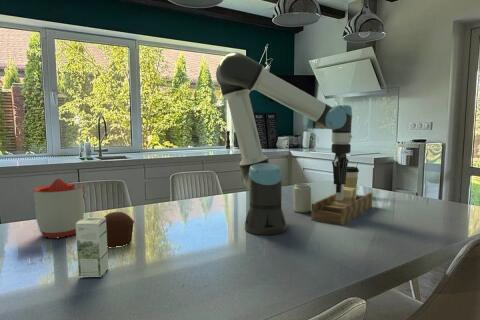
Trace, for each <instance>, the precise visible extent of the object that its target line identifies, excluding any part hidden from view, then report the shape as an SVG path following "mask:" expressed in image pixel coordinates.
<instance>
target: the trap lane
mask: <svg viewBox="0 0 480 320" xmlns="http://www.w3.org/2000/svg"><path fill="white" fill-rule="evenodd" d="M335 199H336V193H333V194H331V195H329V196H327V197H323V198H322V199H320V200H317V201H315V202H312V203H311V221H317V222H322V223H326V224H333V225H338V226H345V225H346V224H348V223H349V222H351V221H352V220H354V219H355V218H357V217H359V216H360V215H362V214H363V213H364V212H366V211H368V210H369V209H371V208H372V207H373V192H371V191H370V192H369V193H366V194H365V195H363V196H359V195H356V200H355V201H353V202H352V203H350V204H343V203H337V200H335Z"/></svg>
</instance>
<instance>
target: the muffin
mask: <svg viewBox="0 0 480 320" xmlns="http://www.w3.org/2000/svg"><path fill="white" fill-rule="evenodd" d="M103 217H105V218H106V230H107V246H108V247H116V246H123V245H126V244H128V245H129V243H130V242H131V243H132V239H133V231H134V224H135V221H134V220H133V218H132V217H131V216H130V215H128V214H127V213H125V212H122V211H114V212H110V213H107V214H105V216H103ZM131 243H130V244H131ZM123 247H124V246H123Z"/></svg>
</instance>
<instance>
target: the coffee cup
mask: <svg viewBox="0 0 480 320" xmlns="http://www.w3.org/2000/svg"><path fill="white" fill-rule="evenodd" d="M359 172H360V170H359V168H358V167H357V166H347V174H346V182H344V183H346V184H343V185H344V187H348V188H356V189H357V185H358V178H359V177H358V175H359Z"/></svg>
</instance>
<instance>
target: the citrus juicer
mask: <svg viewBox="0 0 480 320" xmlns="http://www.w3.org/2000/svg"><path fill="white" fill-rule="evenodd" d="M32 190H33V193H34V196H33V197H34V206H35V207H34V209H35V218H36V221H37V225H38V228H39V231H40V233H41V235H42V236H43V237H44V238H46V237H48V239H55V238H57V237H61V238H66V237H65V236H67V237H70V236H69V235H71V236H74V235H76V223H77V222H78V221H79V220H81V219H83V218H84V215H85V214H84V213H85V210H84V209H85V207H84V198H87V197H88V195H87V194H86V193H84V185H83V184H82V185H80V186H78V187H76V188H75V183H72V182H71V183H67V182H65V181H64V180H62V179H61V178H56V179H55V180H54V181H53V182H52V184H48V185H41V186H38V187H34V188H33V189H32ZM73 234H74V235H73Z"/></svg>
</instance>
